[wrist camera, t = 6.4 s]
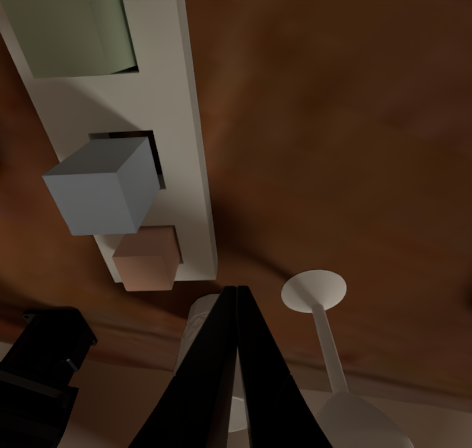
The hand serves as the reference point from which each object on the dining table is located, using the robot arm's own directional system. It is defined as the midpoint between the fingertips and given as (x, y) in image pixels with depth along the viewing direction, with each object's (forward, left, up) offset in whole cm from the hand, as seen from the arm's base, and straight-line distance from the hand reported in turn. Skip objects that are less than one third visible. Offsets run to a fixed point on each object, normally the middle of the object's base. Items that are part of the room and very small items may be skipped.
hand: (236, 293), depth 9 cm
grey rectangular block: (-7, +1, -10) cm, 12 cm away
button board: (-7, +1, -12) cm, 14 cm away
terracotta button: (-7, -6, -12) cm, 15 cm away
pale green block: (-7, +8, -12) cm, 16 cm away
